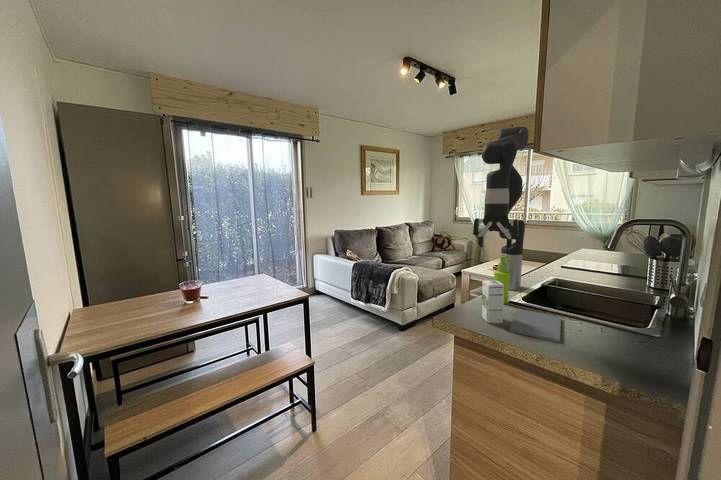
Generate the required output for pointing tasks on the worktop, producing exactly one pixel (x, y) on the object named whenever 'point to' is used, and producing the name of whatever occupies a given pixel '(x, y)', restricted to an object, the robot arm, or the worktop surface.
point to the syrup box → (492, 301)
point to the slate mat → (536, 325)
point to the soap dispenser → (503, 276)
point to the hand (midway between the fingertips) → (494, 248)
